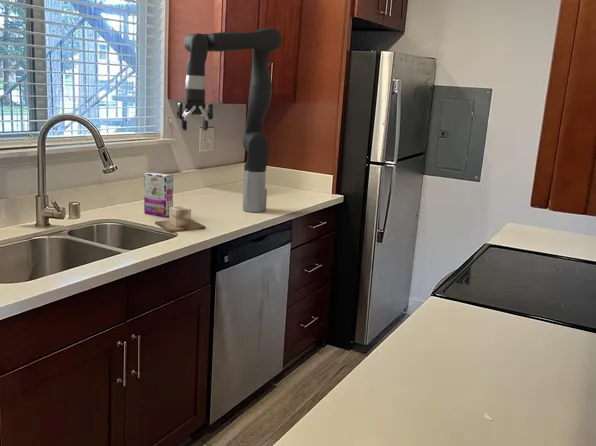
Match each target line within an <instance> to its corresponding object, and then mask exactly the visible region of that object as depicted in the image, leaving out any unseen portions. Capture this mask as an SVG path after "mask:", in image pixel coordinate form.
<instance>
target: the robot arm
mask: <svg viewBox="0 0 596 446" xmlns="http://www.w3.org/2000/svg"><path fill="white" fill-rule="evenodd" d="M282 41H283V39H282V34H281V33H280V32H279V30H278V29H276V28H273V27H262V28H261V27H260V28H259V29H256V30H255V31H253V32H252V31H251V32H233V31H231V32H230V31H228V32H225V31H223V32H212V33H200V32H197V33H190V34H188V35H186V37H185V38H184V40H183V47H184V48H185V50H186V51H187V52H189V53H190V55H189V59H188V60H187V62H186V66H185V67H186V70H185V71H186V72H185V73H186V76H185V90H184V91H185V93H184V94H185V97H184V98H185V102H184V103H182V102H177V104H176V105H177V106H176V119H177V120H180V121H181V129H182V131H187V129H188V121H187V120H188V118H189V117H190V116H191V115H197V116H199V115H200V117H201V118H202V130H203V131H206V132H207V131H208V129H209V121H211V120H213V119H214V111H213V107H214V106H213V104H212V103H206V62H207V57H208V53H209V52H214V53H215V52H217V53H218V52H232V51H241V50H252V62H251V63H252V64H251V65H252V66H251V71H250V82H249V90H248V91H249V93H248V105H247V115H246V116H247V117H246V123H245V128H244V134H243V138H242V145H243V148H244V150H245V151H246V153H247V159H246V162H244V166H243V188H242V189H243V192H242V193H243V194H242V210H243V212H244V211H245V212H248V213H261V212H264V211H267V200H268V198H267V196H268V189H267V188H266V180H267V179H266V178H267V177H266V176H267V175H266V174H267V167H268V165H269V153H270V141H269V139H268V137H267V135H265V134H263V127H264V120H265V117H266V115H267V112H268V110H269V108H270V105H271V102H272V92H273V82H272V77H271V73H270V68H269V58H270V53H271V52H275V51H277V50H279V48H280V47H281V46H282ZM184 108H185V110H183V109H184ZM205 109H206V110H207V111H206V112H207V113H206V112H205ZM183 111H184V112H183Z"/></svg>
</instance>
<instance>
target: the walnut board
mask: <svg viewBox="0 0 596 446" xmlns="http://www.w3.org/2000/svg"><path fill="white" fill-rule="evenodd" d="M154 224H155V225H157V226H158V227H160V228H162V229H164V230H165V231H167V232H169V233H175V232H185V231H194V230H195V231H196V230H204V229H205V230H206V226H205V225H204V224H201V223H199V222H197V221H195V220H193V219H192V218H191V225H186V226H174V225H172V224H170V223H169V220H168V219H167V220H158V221H154Z"/></svg>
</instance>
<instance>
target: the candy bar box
mask: <svg viewBox="0 0 596 446" xmlns="http://www.w3.org/2000/svg"><path fill="white" fill-rule="evenodd" d="M143 182H144V183H143V189H144V190H143V194H144V195H143V196H144V197H143V198H144V199H143V200H144V201H143V202H144V203H143V204H144V208H143V209H144V210H143V211H144V214H146V215H152V216H156V217H157V216H158V217H164V218H169V207H174V175H172V174H167V173H160V172H159V173H158V172H154V171H153V172H152V171H151V172H145V173H144V174H143Z"/></svg>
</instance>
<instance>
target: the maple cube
mask: <svg viewBox="0 0 596 446" xmlns="http://www.w3.org/2000/svg"><path fill="white" fill-rule="evenodd" d="M168 218H169V223H170V224H172V225H174V226H186V225H191V219H192V209H191V208H189V207H187V206H186V205H181V206H173V207H169V216H168Z"/></svg>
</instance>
